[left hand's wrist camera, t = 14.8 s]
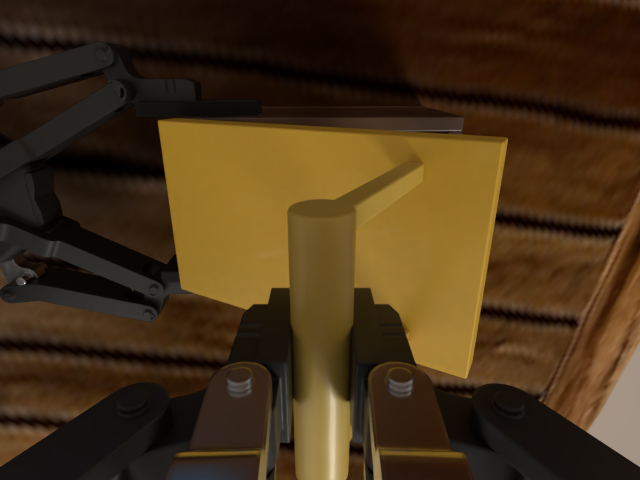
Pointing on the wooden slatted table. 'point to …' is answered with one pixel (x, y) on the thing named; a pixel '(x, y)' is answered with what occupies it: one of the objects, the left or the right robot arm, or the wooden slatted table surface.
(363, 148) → the lid
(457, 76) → the wooden slatted table surface
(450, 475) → the left robot arm
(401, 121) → the chest
